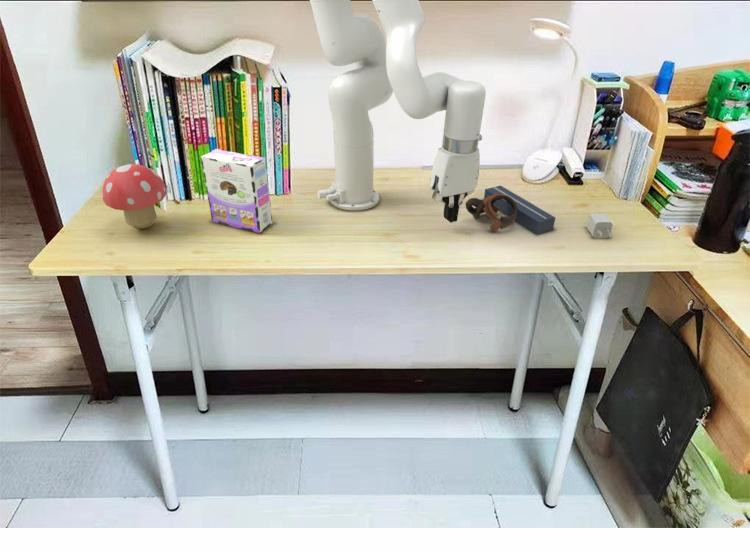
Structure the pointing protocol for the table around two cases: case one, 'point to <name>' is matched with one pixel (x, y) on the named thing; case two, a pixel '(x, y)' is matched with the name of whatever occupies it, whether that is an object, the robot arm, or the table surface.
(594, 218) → the usb wall charger
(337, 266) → the table surface
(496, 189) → the pencil case
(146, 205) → the decorative mushroom
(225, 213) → the candy box
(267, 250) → the table surface
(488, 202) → the brown curved looped piece
